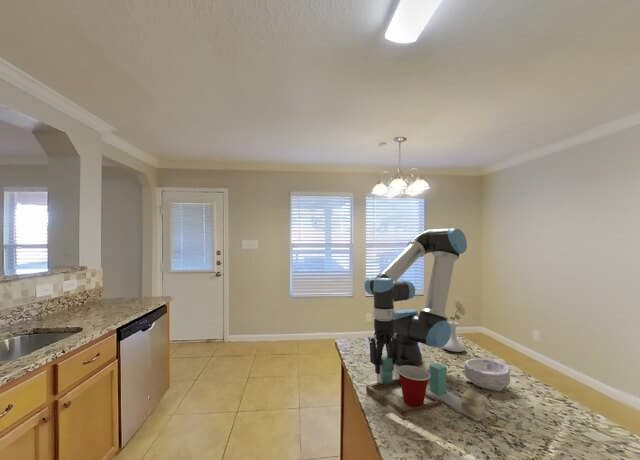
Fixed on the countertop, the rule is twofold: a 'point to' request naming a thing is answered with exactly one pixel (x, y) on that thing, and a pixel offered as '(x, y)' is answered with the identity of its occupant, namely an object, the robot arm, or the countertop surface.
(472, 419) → the divider rail
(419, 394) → the plastic cup
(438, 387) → the sled
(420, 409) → the frame
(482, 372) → the paper bowls
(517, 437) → the countertop surface
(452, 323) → the flower in vase
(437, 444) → the countertop surface
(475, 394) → the beech cube
